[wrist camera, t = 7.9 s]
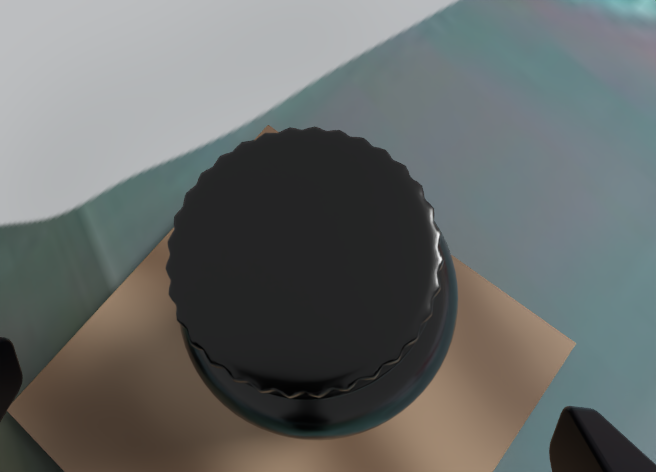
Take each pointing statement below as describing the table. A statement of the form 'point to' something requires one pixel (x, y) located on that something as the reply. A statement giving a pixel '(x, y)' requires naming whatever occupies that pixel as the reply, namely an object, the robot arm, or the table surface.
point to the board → (259, 445)
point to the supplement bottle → (312, 284)
